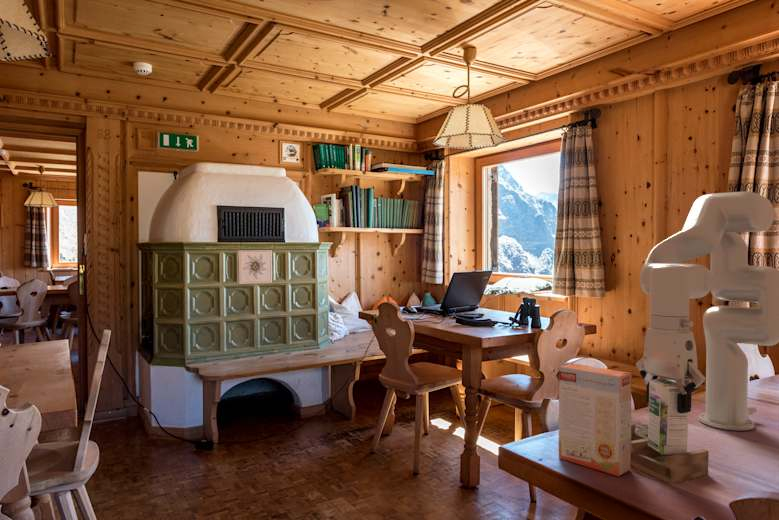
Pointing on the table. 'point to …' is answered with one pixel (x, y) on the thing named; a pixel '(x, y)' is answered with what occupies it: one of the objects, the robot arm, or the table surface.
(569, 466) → the table surface
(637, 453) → the tray
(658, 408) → the syrup box
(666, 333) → the robot arm
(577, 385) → the cracker box
